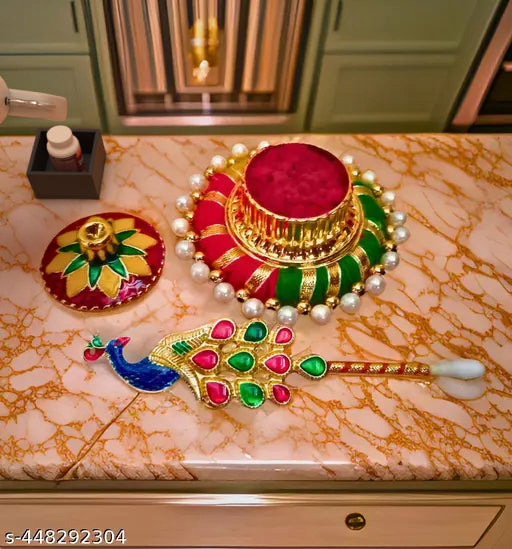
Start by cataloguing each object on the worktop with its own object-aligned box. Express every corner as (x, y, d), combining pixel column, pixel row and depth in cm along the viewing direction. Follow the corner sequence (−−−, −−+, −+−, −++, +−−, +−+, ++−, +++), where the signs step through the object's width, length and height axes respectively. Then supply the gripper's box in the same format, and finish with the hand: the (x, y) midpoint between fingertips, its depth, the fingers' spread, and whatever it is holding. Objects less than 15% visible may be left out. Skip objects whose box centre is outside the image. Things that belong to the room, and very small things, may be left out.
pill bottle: (90, 179, 119) (79, 140, 110) (60, 187, 118) (46, 149, 109) (83, 159, 122) (71, 119, 113) (53, 166, 121) (39, 127, 112)
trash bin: (36, 198, 117) (25, 174, 111) (47, 153, 124) (37, 127, 118) (99, 199, 118) (91, 175, 111) (106, 154, 124) (100, 128, 118)
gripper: (48, 82, 80) (82, 92, 93) (-96, 65, 80) (-41, 77, 94) (46, 129, 81) (80, 132, 95) (-96, 111, 82) (-41, 117, 95)
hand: (19, 104), depth 94 cm, fingers open, 8 cm apart
